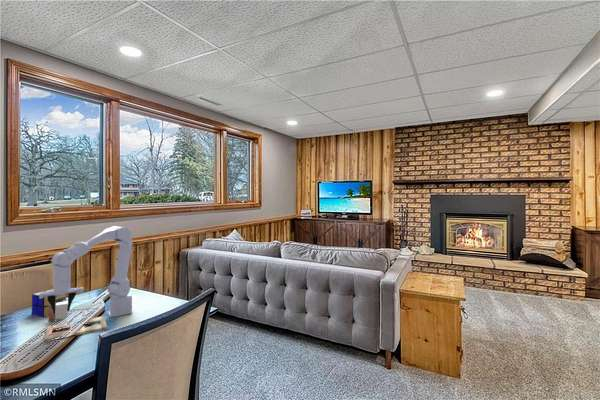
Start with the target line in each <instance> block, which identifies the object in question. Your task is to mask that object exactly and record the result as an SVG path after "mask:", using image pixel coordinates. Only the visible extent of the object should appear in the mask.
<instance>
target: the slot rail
mask: <svg viewBox="0 0 600 400" xmlns="http://www.w3.org/2000/svg"><path fill="white" fill-rule="evenodd" d="M90 319H91V318H90ZM106 320H107V319H106V317H105V315H103V316H96V317H92V319H91V320H90V321H89V322H88V325H91V326H85V325H84V326H83V327H82V328H81V329H80V330H79V331H77V332H76V336H80V335H86V334H90V333H95V332H98V331H105V330H107V329H108V326H107V321H106ZM67 323H68V322H65V323H61V324H59V323H58V324H55V325H49V326H47V327H46V330H45V331H46V332H45V334H44V339H43V342H44V341H48V342H50V341H49V340H52V339H55V338H58V337H62V336H64V333H66V332H68V331H70V330H71V329H72V327H73V324H70V325H67ZM97 323H100V324H97ZM92 324H96V325H92ZM66 326H70V328H69V329H68V330H64V331H57V332H54V331H53V330H56V329H59V328H63V327H66ZM52 331H53V332H54V333H53V332H52ZM52 341H53V340H52Z"/></svg>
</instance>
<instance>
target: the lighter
mask: <svg viewBox="0 0 600 400" xmlns="http://www.w3.org/2000/svg"><path fill="white" fill-rule="evenodd" d="M63 299H66V300H65V301H68V299H67V296H66V297H65V296H63V297H60V298H56V303H58V302H64V301H63ZM56 303H55V305H56ZM56 320H57V321H59V320H58V319H56ZM53 321H54V322H56V321H55V314H53V309H52V307H51V305H49V316H48V323H53Z"/></svg>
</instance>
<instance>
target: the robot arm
mask: <svg viewBox="0 0 600 400" xmlns="http://www.w3.org/2000/svg"><path fill="white" fill-rule="evenodd" d="M106 240H112V241H115V242H116V243H117V244H118V245H119V249H118V253H117V261H116V265H115V266H116V267H115V271H114V276H113V277H112V278H111V279H110V283H109V284H108V286H107V292H108V293H109V297H110V299H109V305H110V306H109V311H108V316H109V318H116V317H120V316H125V315H130V314H132V313H133V295H132V294H129V293H130V292H131V286H130V282H131V281H130V280H129V278H128V272H129V268H130V267H129V266H130V261H131V254H132V249H133V244H134V242H133V237H132V231H131V230H130V229H129V228H127V227H126V226H116V225H112V226H110V227H108V228H104V230H103V231H101V232H99V233H98V234H96V235H95V236H93V237H91V238H89V240H86V241H79V242H78V241H77V242H75V243H74V245H72V246H69V247H68V248H65V249H63V250H62V251H63V252H60V251H59V252H57V253H55V254H54V255H53V256H52V258H51V259H50V262H51V264H52V265H53V291H48V290H47V291H48V292H45V291H42V292H43V293H40V292H39V293H40V294H39V299H41V298H45V297H48V299H47V300H48V302H49V303H50V305H51V307H52V309H53V314H55V303H56V296H59V295H66V296H67V301H68V309H67V311H68V312H70V310H71V305H72V304H73V301H74V299H75V297H76V294H82V293H84V287H82V286H81V287H71V285H72V283H71V280H72V279H71V278H72V277H71V273H72V268H71V267H72V265H73V263H74V262H75V260H77V259H79V258H81V257H83V256H84V255H86V254H88V253H89V251H90V249H91V248H93V247H94V246H95V247H96V246H97V245H98V244H100V243H103V242H104V241H106Z"/></svg>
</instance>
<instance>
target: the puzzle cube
mask: <svg viewBox="0 0 600 400" xmlns="http://www.w3.org/2000/svg"><path fill="white" fill-rule="evenodd" d="M48 291H53V289H49V290H45V291H40V292H36V293H32V295H31V314H32V315H35V316H38V317H41V318H45V317H49V305H50V303H49V302H48V300H47V299H48V297H45V298H41V299H39V294H40V293H43V292H48ZM63 296H65V297H66V299H63V301H65V300H67V294H66V295H59V296H56V298H60V297H63Z"/></svg>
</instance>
